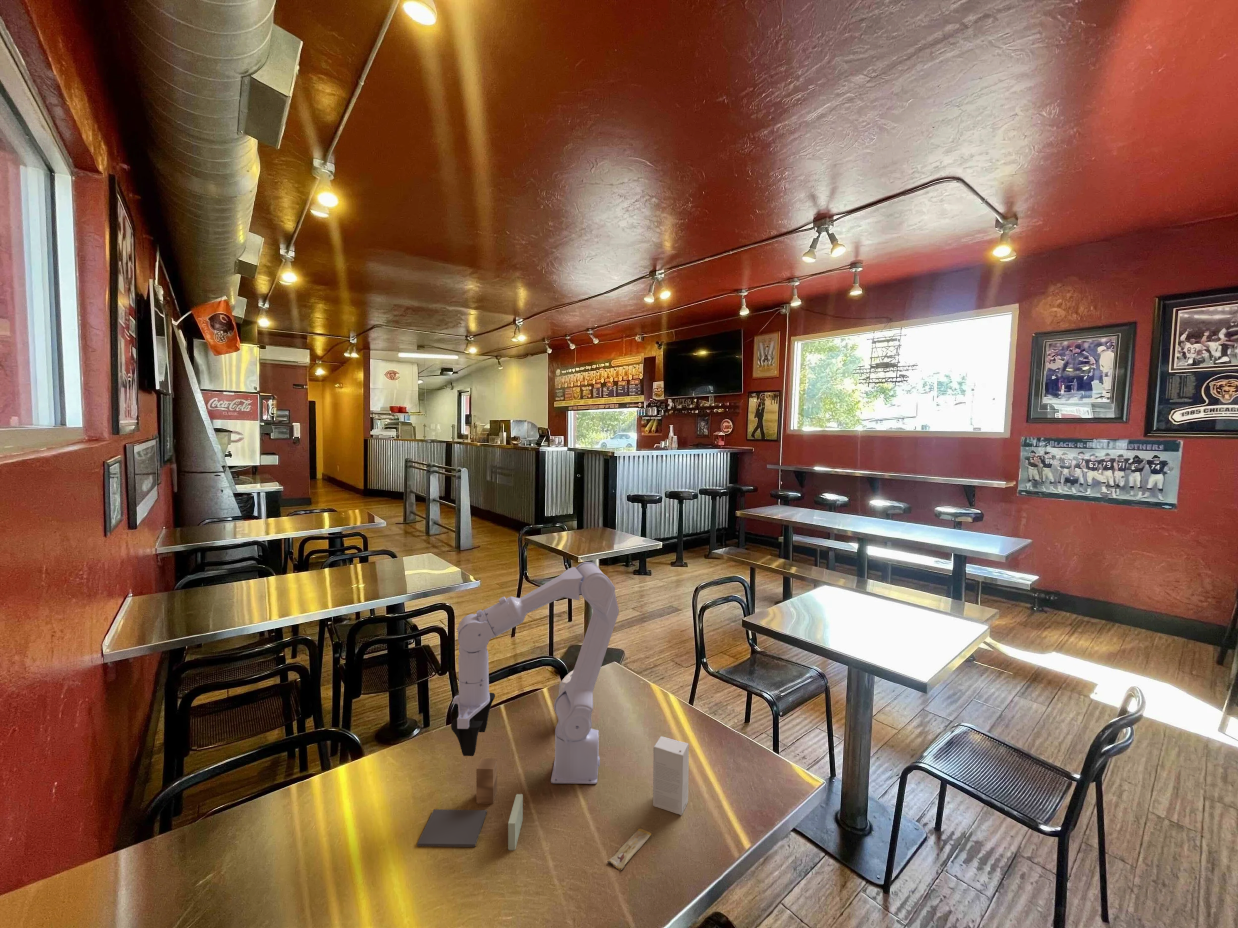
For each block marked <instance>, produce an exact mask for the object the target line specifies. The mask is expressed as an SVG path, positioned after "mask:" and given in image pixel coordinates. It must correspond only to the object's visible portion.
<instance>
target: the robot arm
mask: <svg viewBox="0 0 1238 928" xmlns="http://www.w3.org/2000/svg"><path fill="white" fill-rule="evenodd" d="M580 595H582V598H583V599H584V600H585V601H586V602H587V603H588V604H589V606H590V608H591V609H592V614H591V617H590V620H589V623H588V627H587V630H586V632H585V634H584V637H583V641H582V644H581V647H580V651H579V653H578V656H577V658H576V659H577V660H576V662H575V665H574V668H573V670H574V671H573V670H572V671H573V674H572V677H571V680H570V681H569V682H568V683H566V684H565V686H564V689H563V691H562V692H561V694H560V695H559V694H558V696H557V697H556V698H555V700H554V702H553V703H554V704H553V709H554V712H555V714H556V717H557V719H558V721H557V724H556V725H555V730H554V762H553V768H552V773H551V778H550V782H551V784H570V785H571V784H572V785H573V784H578V785H579V784H583V785H584V784H587V785H588V784H589V785H596V784H597V783H598V776H599V775H598V774H599V768H600V765H601V756H600V755H599V750H600V749H599V747H600V746H599V745H600V742H599V740H600V737H599V735H600V731H599V729H594V728H593V727H592V726H593V723H592V712H593V711H594V696H593V695H594V692H593V691H594V689H595V686H596V684H597V683H596V682H597V681H598V677H599V673H600V671H601V667H602V665H603V662H604V659H605V656H606V652H607V649H608V647H609V643H610V641H611V639H612V635H613V631H614V628H615V626H616V622H617V619H618V616H619V611H620V609H619V605H618V601H617V596H616V586H615V585H614V583H613V582H612V580H611V579H610V578H609V577H608V576H607V575H606V574H604V573H603V572H602V570H601V569H600V568H599V566H598V565H597V564H595V562H591V561H584V562H580V563H579V564H578V565H576V567H575V566H572V567H570V568H567V569H566V570H565V571H564V572H562V573H560V575H558V576H556V577H554V578H553V579H551V580H549V581H547V582H546V583H544V584H542V585H540V586H539V587H536V588H535V589H533V590H531V591H530V592H528V593H527V594H524V595H522V596H521V597H515V596H509V597H507V598H506V596H502V597H500V598H499V599H498V602H496V603H495V604H493V605H491V606H489V607H487V608H485V609H483V610H482V609H478V610H477V611H476V613H475V614H474V613H470V614H467V615H465V616H464V617H462V618H461V621H460V622H459V623H458V627H457V628H456V631H457V642H458V645H459V646H458V653H459V654H458V657H457V659H458V661H457V662H458V665H457V666H458V695H456V696H454V698H453V699H452V703H453V705H457V707H458V708H457V711H458V715H457V718H454V719H453V720H452V722H451V724H450V727H451V731H452V732H453V733H454V735H455V736H456V738H457V740H458V743H459V746H460V750H461V753H462V755H463V757H474V755H475V753H476V750H477V743H478V736H479V733H485V732H486V729H487V725H488V721H489V715H490V711H491V707H492V704H493V702H494V699H495V698H496V693H494V692H490V682H489V681H490V677H489V676H490V675H489V673H490V671H489V651H488V645H489V642H490V640H492V639H494V638H497V637H498V636H500V635H502V634H504V633H506V632H508V631H509V630H511V629H514V628H515V627H517V626H518V625H519V626H520V625H521V624H522V623H524V621H525V618H526V616H527V615H528V613H529V614H530V613H531V612H533V611H535V610H538V609H540V608H541V607H544V606H547V605H549V604H551V603H552V602H555V601H557V600H560V599H562V598H566V599H572V600H575V601H580Z"/></svg>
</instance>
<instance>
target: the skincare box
mask: <svg viewBox="0 0 1238 928" xmlns="http://www.w3.org/2000/svg"><path fill="white" fill-rule="evenodd" d="M689 751H690V744H689V743H688V742H684V741H680V740H676V739H673V738H669V737H665V736H662V735H660V737H659V738H658V739H657V742H655V745H653V762H652V763H653V767H652V768H653V771H652V773H653V774H652V777H653V779H652V780H653V781H652V806H653V807H655V808H657V809H658V808H659V809H662V810H665V811H668V812H670V813H673V814H676V815H679V816H682V815H683V814H684V811H685V809H686V807H687V805H688V803H689V769H690V768H689V767H690V766H689V761H690V760H689V759H690V758H689V757H690V756H689V754H690V752H689Z"/></svg>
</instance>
